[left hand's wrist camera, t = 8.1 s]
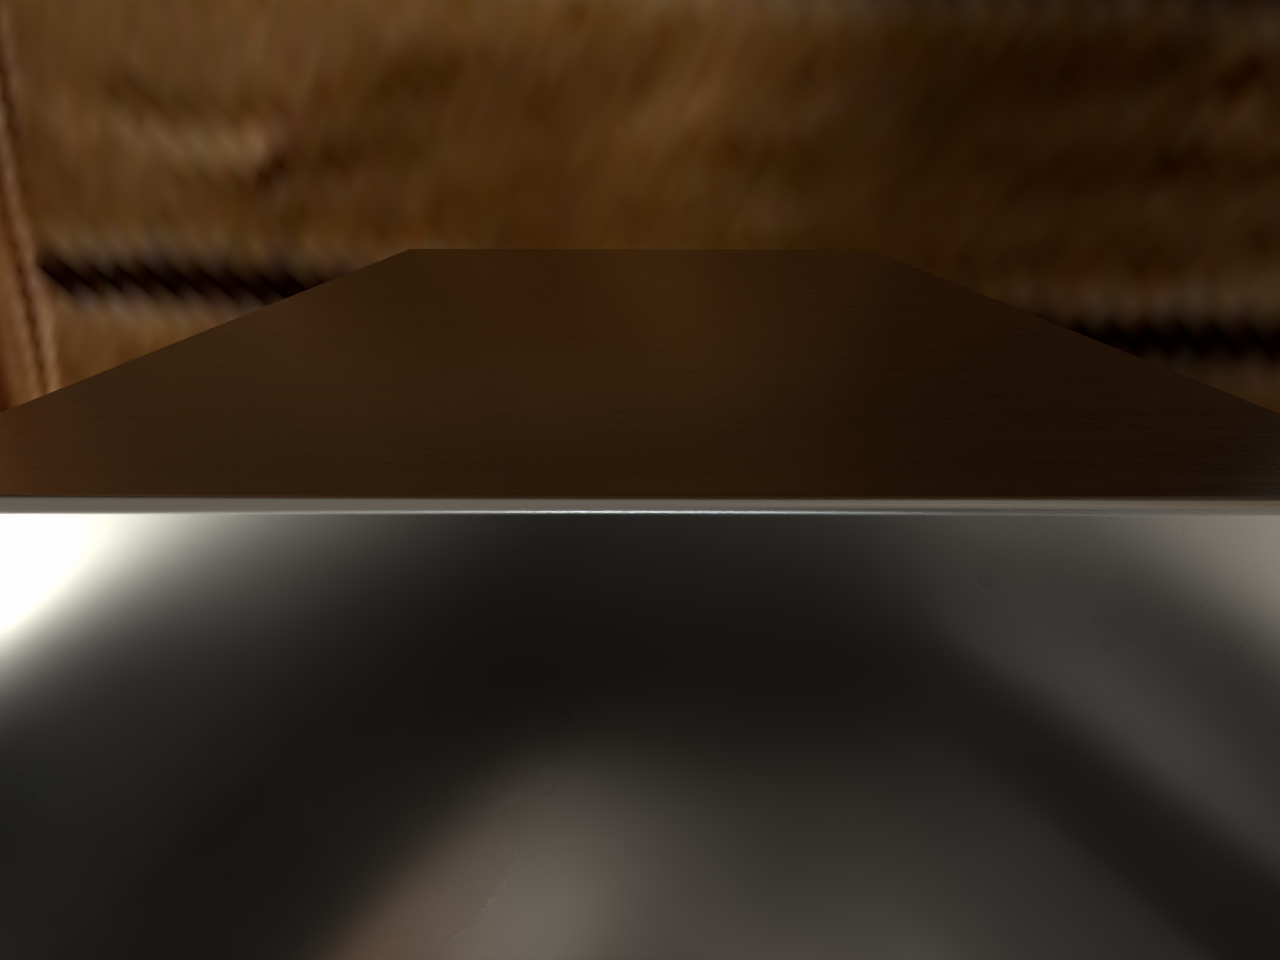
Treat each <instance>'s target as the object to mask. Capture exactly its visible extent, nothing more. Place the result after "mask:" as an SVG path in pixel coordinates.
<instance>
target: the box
mask: <svg viewBox="0 0 1280 960" xmlns="http://www.w3.org/2000/svg"><path fill="white" fill-rule="evenodd" d="M0 960H1280V414H1278V413H1275V412H1273V411H1270V410H1268V409H1265V408H1263V407H1261V406H1258V405H1256V404H1253V403H1251V402H1248V401H1246V400H1243V399H1241V398H1238V397H1236V396H1233V395H1231V394H1228V393H1226V392H1223V391H1221V390H1218V389H1216V388H1213V387H1211V386H1208V385H1206V384H1203V383H1201V382H1198V381H1196V380H1193V379H1191V378H1188V377H1186V376H1183V375H1181V374H1178V373H1176V372H1174V371H1171V370H1169V369H1166V368H1164V367H1161V366H1159V365H1156V364H1154V363H1151V362H1149V361H1146V360H1144V359H1141V358H1139V357H1136V356H1134V355H1131V354H1129V353H1126V352H1124V351H1121V350H1119V349H1116V348H1114V347H1111V346H1109V345H1106V344H1104V343H1101V342H1099V341H1096V340H1094V339H1091V338H1089V337H1086V336H1084V335H1082V334H1079V333H1077V332H1074V331H1072V330H1069V329H1067V328H1064V327H1062V326H1059V325H1057V324H1054V323H1052V322H1049V321H1047V320H1044V319H1042V318H1039V317H1037V316H1034V315H1032V314H1029V313H1027V312H1024V311H1022V310H1019V309H1017V308H1014V307H1012V306H1009V305H1007V304H1004V303H1002V302H999V301H997V300H995V299H992V298H990V297H987V296H985V295H982V294H980V293H977V292H975V291H972V290H970V289H967V288H965V287H962V286H960V285H957V284H955V283H952V282H950V281H947V280H945V279H942V278H940V277H937V276H935V275H932V274H930V273H927V272H925V271H922V270H920V269H917V268H915V267H912V266H910V265H908V264H905V263H903V262H900V261H898V260H895V259H893V258H890V257H888V256H885V255H883V254H880V253H878V252H875V251H873V250H571V249H409V250H406V251H404V252H401V253H399V254H396V255H394V256H391V257H389V258H386V259H384V260H381V261H379V262H376V263H374V264H371V265H369V266H366V267H364V268H361V269H359V270H356V271H354V272H351V273H349V274H346V275H344V276H341V277H339V278H336V279H334V280H331V281H329V282H326V283H324V284H321V285H319V286H316V287H314V288H311V289H309V290H306V291H304V292H301V293H299V294H296V295H294V296H291V297H289V298H286V299H284V300H281V301H279V302H276V303H274V304H271V305H269V306H266V307H264V308H261V309H259V310H256V311H254V312H251V313H249V314H246V315H244V316H241V317H239V318H236V319H234V320H231V321H229V322H226V323H224V324H221V325H219V326H216V327H214V328H211V329H209V330H206V331H204V332H201V333H199V334H196V335H194V336H191V337H189V338H186V339H184V340H181V341H179V342H176V343H174V344H171V345H169V346H166V347H164V348H161V349H159V350H156V351H154V352H151V353H149V354H146V355H144V356H141V357H139V358H136V359H134V360H131V361H129V362H126V363H124V364H121V365H119V366H116V367H114V368H111V369H109V370H106V371H104V372H102V373H99V374H97V375H94V376H92V377H89V378H87V379H84V380H82V381H79V382H77V383H74V384H72V385H69V386H67V387H64V388H62V389H59V390H57V391H54V392H52V393H49V394H47V395H44V396H42V397H39V398H37V399H34V400H32V401H29V402H27V403H24V404H22V405H19V406H17V407H14V408H12V409H9V410H7V411H4V412H2V413H0Z"/></svg>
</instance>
